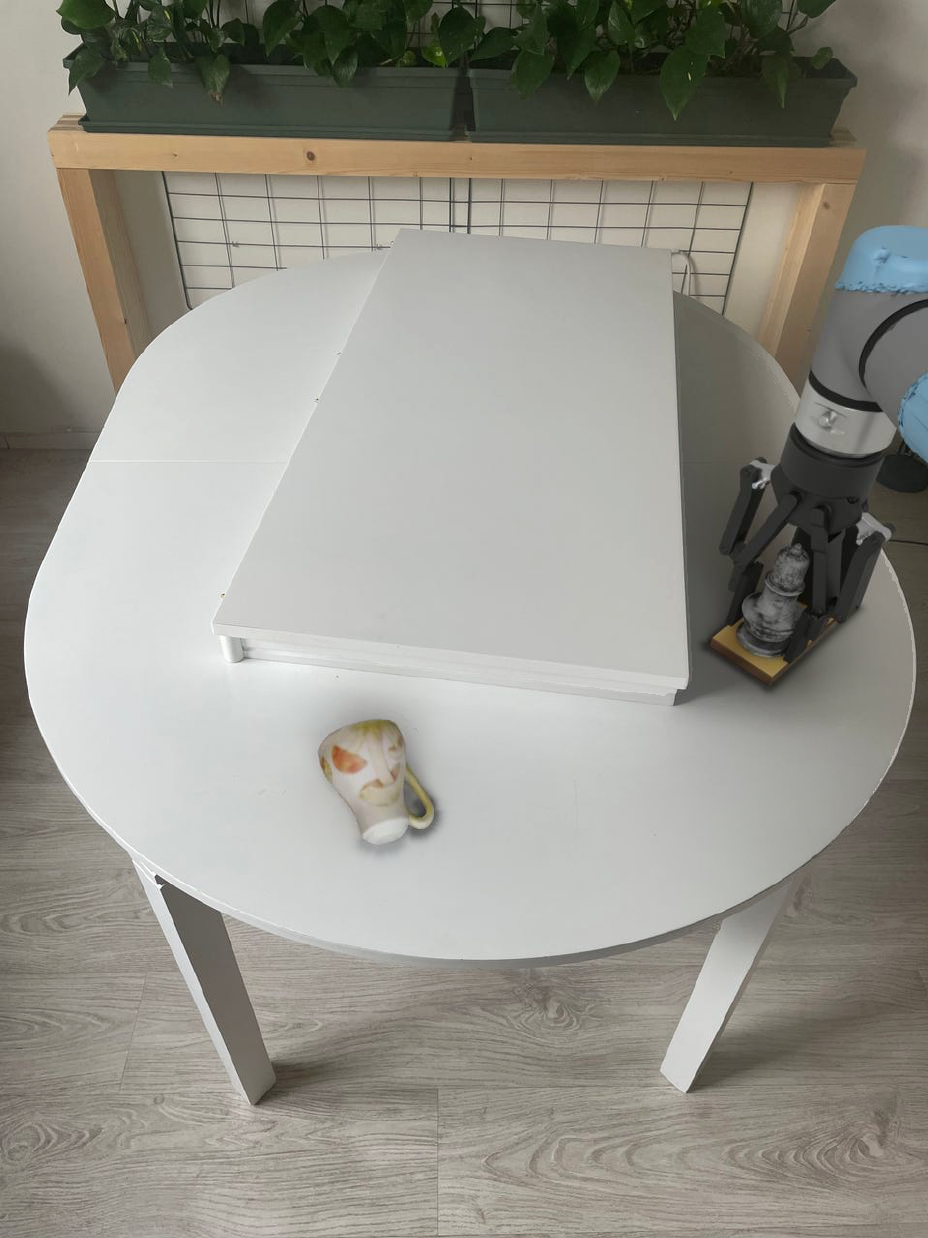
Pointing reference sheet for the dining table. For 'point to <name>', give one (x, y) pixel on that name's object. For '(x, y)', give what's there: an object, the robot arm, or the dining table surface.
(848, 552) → the battery charger
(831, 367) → the robot arm
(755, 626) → the grey chess piece
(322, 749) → the mug
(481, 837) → the dining table surface
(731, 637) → the strip board
